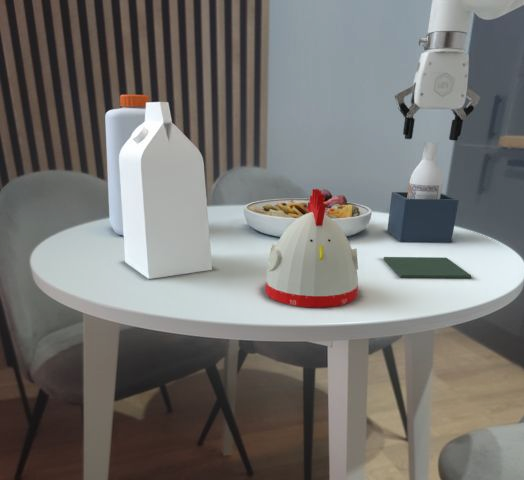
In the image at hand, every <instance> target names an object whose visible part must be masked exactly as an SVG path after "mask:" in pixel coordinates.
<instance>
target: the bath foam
mask: <svg viewBox="0 0 524 480" xmlns="http://www.w3.org/2000/svg"><path fill="white" fill-rule="evenodd" d="M439 143H440V142H439V141H424V144H423V151H422V157H421V160H420V162H419V164H417V165H416V167H415V168H414V170H413V171H412V173H411V175H410V178H409V183H408V190H407V192H408V196H407V199H440V196H441V193H442V189H443V173H442V171H441V168H440V166H439V163H438V161H437V157H438V151H439V146H440V145H439Z"/></svg>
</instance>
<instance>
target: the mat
mask: <svg viewBox="0 0 524 480" xmlns="http://www.w3.org/2000/svg"><path fill="white" fill-rule="evenodd" d="M383 260H384V262H385V263H386V264H387V265H388V266H389V267H390V268H391V269H392V270H393V272H395V273H396V274H397V276H399V278H402V279H403V278H405V279H415V278H416V279H472V275H471V274H470V273H468V272H467V271H466V270H464V269H463V268H462V267H460V266H459V265H457V264H456V263H454V262H453V261H452V260H450V259H449V258H448V257H438V256H437V257H435V256H434V257H433V256H431V257H430V256H428V257H427V256H425V257H424V256H423V257H422V256H384V257H383Z"/></svg>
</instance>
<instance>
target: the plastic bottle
mask: <svg viewBox="0 0 524 480" xmlns="http://www.w3.org/2000/svg"><path fill="white" fill-rule="evenodd" d="M119 102H120V103H119V104H120V105H119V106H120V108H113V109H109V110H108V111H107V112H106V113H105V114H104V115H105V116H104V121H105V123H104V124H105V125H104V126H105V145H106V169H107V171H106V173H107V194H108V215H109V216H108V219H109V225H110V227H111V228H112V231H114V232H115V234H117V235H119V236H123V237H124V234H123V217H122V201H121V185H120V168H119V154H120V151H121V149H122V147H123V146H124V144H125V143H126V142H127V141H128V140H129V138H130V137H131V135H132V133H133V132H134V131H135V129H136V128H137V127H138V126H140V125H142V124H143V123H144V122H145V111H146V102H150V97H149V96H148V95H145V94H120V96H119Z"/></svg>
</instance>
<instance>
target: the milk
mask: <svg viewBox="0 0 524 480" xmlns="http://www.w3.org/2000/svg"><path fill="white" fill-rule="evenodd" d="M204 163H205V162H204V157H203V155H202V153H201V151H200V150H199V148H198V147H197V146H196V145H195V144H194V143H193V142H192V141H191V140H190V139H189V138H188V137H187V136H186V135H185V134H184V133H183V132H182V130H181V129H179V127H177V126H176V124H175V123H173V119H172V114H171V110H170V104H169V102H168V101H149V102H146V111H145V122H144V123H143V124H142V125H140V126H138V127H137V128H136V129H135V131H134V132H133V133H132V135H131V137H130V138H129V140H128V141H127V142H126V143H125V144H124V146H123V147H122V149H121V151H120V154H119V168H120V185H121V201H122V217H123V234H124V236H123V246H124V247H123V248H124V263H126V264H127V265H128V266H130V267H131V268H133V269H134V270H135V271H136V272H138V273H139V274H141V275H142V276H144V277H145V278H147V279H148V280H151V279H152V280H153V279H159V278H165V277H173V276H180V275H185V274H192V273H198V272H199V273H200V272H205V271H206V272H207V271H212V270H213V261H212V252H211V238H210V225H209V212H208V211H209V210H208V200H207V187H206V175H205V164H204Z"/></svg>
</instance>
